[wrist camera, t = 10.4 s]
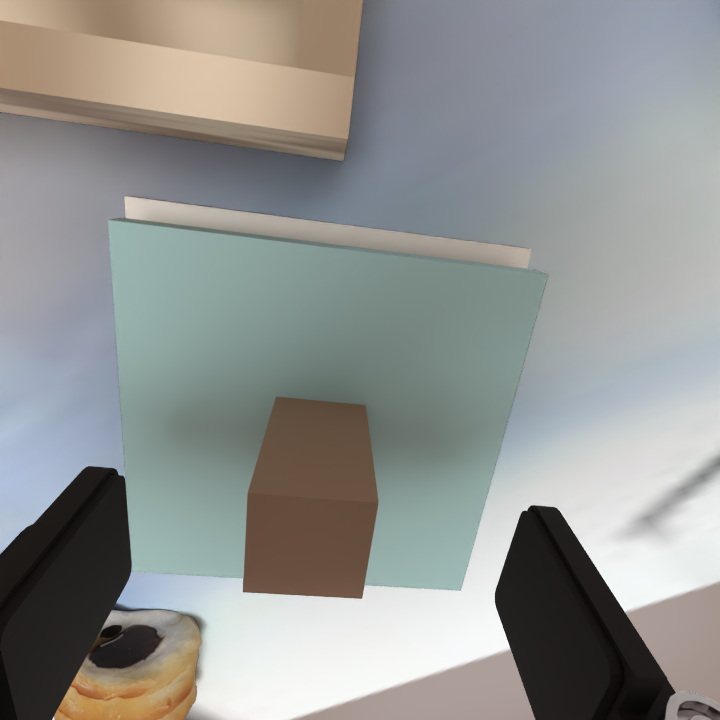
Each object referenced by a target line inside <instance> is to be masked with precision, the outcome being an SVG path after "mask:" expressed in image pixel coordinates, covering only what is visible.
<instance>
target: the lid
mask: <svg viewBox="0 0 720 720" xmlns="http://www.w3.org/2000/svg"><path fill="white" fill-rule="evenodd" d="M108 233H109V247H110V262H111V276H112V291H113V305H114V320H115V334H116V349H117V363H118V378H119V392H120V407H121V421H122V436H123V450H124V464H125V479H126V493H127V508H128V521H129V534H130V546H131V559H132V572H144V573H161V574H179V575H196V576H214V577H231V578H244V579H243V592H249V593H268V594H286V595H305V596H323V597H342V598H360V599H362V596H363V590H364V585H372V586H389V587H407V588H424V589H442V590H459V591H461V588H462V585H463V581H464V577H465V574H466V570H467V566H468V563H469V559H470V556H471V552H472V548H473V545H474V541H475V538H476V534H477V530H478V527H479V523H480V520H481V516H482V512H483V509H484V505H485V502H486V498H487V494H488V491H489V487H490V484H491V480H492V476H493V473H494V469H495V465H496V462H497V458H498V455H499V451H500V447H501V444H502V440H503V437H504V433H505V429H506V426H507V422H508V419H509V415H510V411H511V408H512V404H513V401H514V397H515V393H516V390H517V386H518V382H519V379H520V375H521V372H522V368H523V364H524V361H525V357H526V354H527V350H528V346H529V343H530V339H531V336H532V332H533V328H534V325H535V321H536V318H537V314H538V310H539V307H540V303H541V300H542V296H543V292H544V289H545V285H546V281H547V278H548V275H547V274H545V273H542V272H540V271H537V270H535V269H527V268H519V267H511V266H503V265H495V264H487V263H479V262H471V261H463V260H455V259H448V258H440V257H432V256H424V255H416V254H408V253H400V252H392V251H384V250H376V249H368V248H360V247H352V246H344V245H336V244H328V243H320V242H312V241H305V240H297V239H289V238H281V237H273V236H265V235H257V234H249V233H241V232H233V231H225V230H217V229H209V228H201V227H193V226H185V225H177V224H169V223H162V222H154V221H146V220H138V219H130V218H118V219H110V220H108Z"/></svg>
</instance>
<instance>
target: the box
mask: <svg viewBox="0 0 720 720" xmlns="http://www.w3.org/2000/svg"><path fill="white" fill-rule="evenodd" d="M362 5H363V0H0V112H4V113H11V114H18V115H25V116H32V117H39V118H46V119H53V120H60V121H66V122H73V123H80V124H87V125H94V126H101V127H108V128H115V129H122V130H129V131H136V132H143V133H150V134H157V135H164V136H171V137H178V138H185V139H192V140H199V141H206V142H213V143H220V144H227V145H234V146H241V147H248V148H254V149H261V150H268V151H275V152H282V153H289V154H296V155H303V156H310V157H317V158H324V159H331V160H338V161H344V156H345V151H346V147H347V142H348V136H349V126H350V117H351V108H352V98H353V89H354V80H355V71H356V61H357V52H358V43H359V33H360V24H361V15H362Z"/></svg>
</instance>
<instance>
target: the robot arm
mask: <svg viewBox="0 0 720 720" xmlns="http://www.w3.org/2000/svg"><path fill="white" fill-rule="evenodd" d="M131 568H132V559H131V546H130V534H129V521H128V509H127V496H126V484H125V478H124V476H120V475H118V472H117V470H116V469H114V468H104V467H93V466H88V467H86V468H85V469H83V470H82V471H81V473H80V474H79V475H78V476H77V477H76V478H75V479H74V480H73V481H72V482H71V483H70V485H69V486H68V487H67V488H66V489H65V490H64V491H63V492H62V493H61V494H60V496H59V497H58V498H57V499H56V500H55V501H54V502H53V503H52V504H51V505H50V507H49V508H48V509H47V510H46V511H45V512H44V513H43V514H42V515H41V516H40V517H39V519H38V520H37V521H36V522H35V523H34V524H33V525H30V526H28V527H27V528H25V529H24V530H23V531H22V532H21V533H20V534H19V535H18V536H17V537H16V538H15V539H14V540H13V541H12V542H11V543H10V545H9V546H8V547H7V548H6V549H5V550H4V551H3V552H2V553H1V554H0V720H52V719H53V717H54V715H55V713H56V711H57V710H58V708H59V706H60V704H61V702H62V700H63V699H64V697H65V695H66V693H67V691H68V690H69V688H70V686H71V684H72V682H73V680H74V679H75V677H76V675H77V673H78V671H79V669H80V668H81V666H82V664H83V662H84V660H85V658H86V657H87V655H88V653H89V651H90V649H91V647H92V646H93V644H94V642H95V640H96V638H97V636H98V635H99V633H100V631H101V629H102V627H103V625H104V624H105V622H106V620H107V618H108V616H109V615H110V613H111V611H112V609H113V607H114V605H115V604H116V602H117V600H118V598H119V596H120V594H121V593H122V591H123V589H124V587H125V585H126V583H127V581H128V579H129V576H130V573H131ZM495 604H496V608H497V611H498V614H499V617H500V620H501V622H502V625H503V628H504V631H505V634H506V637H507V640H508V642H509V645H510V648H511V651H512V654H513V657H514V660H515V662H516V665H517V668H518V671H519V674H520V677H521V679H522V682H523V685H524V688H525V691H526V694H527V697H528V700H529V702H530V705H531V708H532V711H533V713H534V717H535V719H536V720H720V705H719V704H718V703H717V702H715V701H713V700H711V699H708V698H707V697H705V696H703V695H700V694H696V693H693V692H677V693H676V692H675V691H674V689H673V688H672V686H671V685H670V683H669V682H668V680H667V677H666V676H665V674H664V673H663V671H662V670H661V668H660V666H659V665H658V663H657V662H656V660H655V659H654V657H653V656H652V654H651V652H650V651H649V649H648V648H647V647H646V645H645V643H644V642H643V640H642V638H641V637H640V635H639V634H638V632H637V631H636V629H635V628H634V626H633V624H632V623H631V622H630V620H629V618H628V617H627V615H626V614H625V612H624V610H623V609H622V607H621V606H620V604H619V603H618V601H617V600H616V598H615V596H614V595H613V593H612V592H611V590H610V589H609V587H608V586H607V584H606V582H605V581H604V579H603V578H602V576H601V575H600V573H599V572H598V570H597V569H596V567H595V565H594V564H593V562H592V561H591V559H590V558H589V556H588V555H587V553H586V551H585V550H584V548H583V547H582V545H581V544H580V542H579V541H578V539H577V537H576V536H575V534H574V533H573V531H572V530H571V528H570V527H569V525H568V523H567V522H566V520H565V519H564V517H563V516H562V514H561V513H560V511H559V510H558V509H557V508H555V507H546V506H535V505H533V506H530V507H529V508H528V510H527V511H523V512H522V513H521V515H520V518H519V521H518V524H517V527H516V530H515V533H514V536H513V539H512V542H511V545H510V548H509V551H508V554H507V557H506V560H505V563H504V566H503V570H502V573H501V576H500V579H499V582H498V585H497V588H496V591H495Z"/></svg>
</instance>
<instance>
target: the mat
mask: <svg viewBox="0 0 720 720" xmlns="http://www.w3.org/2000/svg"><path fill="white" fill-rule="evenodd" d="M124 197H125V215H126V218H130V219H138V220H146V221H154V222H162V223H169V224H177V225H185V226H193V227H201V228H209V229H217V230H225V231H233V232H241V233H249V234H257V235H265V236H273V237H281V238H289V239H297V240H305V241H312V242H320V243H328V244H336V245H344V246H352V247H360V248H368V249H376V250H384V251H392V252H400V253H408V254H416V255H424V256H432V257H440V258H448V259H455V260H463V261H471V262H479V263H487V264H495V265H503V266H511V267H519V268H528V264H529V260H530V256H531V252H532V249H528V248H521V247H513V246H505V245H498V244H490V243H482V242H475V241H467V240H459V239H452V238H444V237H436V236H429V235H421V234H413V233H406V232H398V231H391V230H383V229H375V228H368V227H360V226H352V225H345V224H337V223H329V222H322V221H314V220H306V219H299V218H291V217H283V216H276V215H268V214H261V213H253V212H245V211H238V210H230V209H222V208H215V207H207V206H199V205H192V204H184V203H176V202H169V201H161V200H153V199H146V198H138V197H131V196H124Z"/></svg>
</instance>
